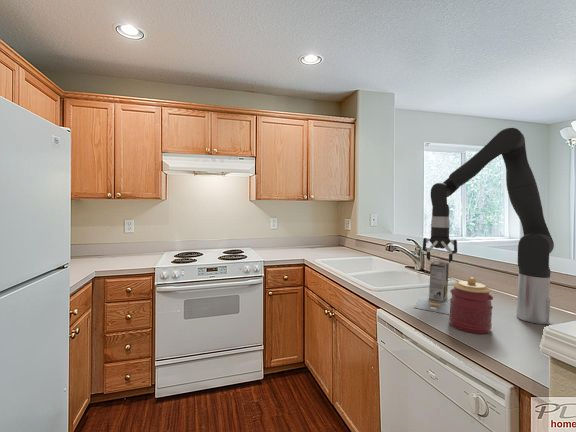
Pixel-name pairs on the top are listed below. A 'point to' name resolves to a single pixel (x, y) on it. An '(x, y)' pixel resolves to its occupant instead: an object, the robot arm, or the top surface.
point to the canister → (471, 307)
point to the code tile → (433, 306)
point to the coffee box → (438, 281)
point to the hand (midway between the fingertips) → (439, 261)
